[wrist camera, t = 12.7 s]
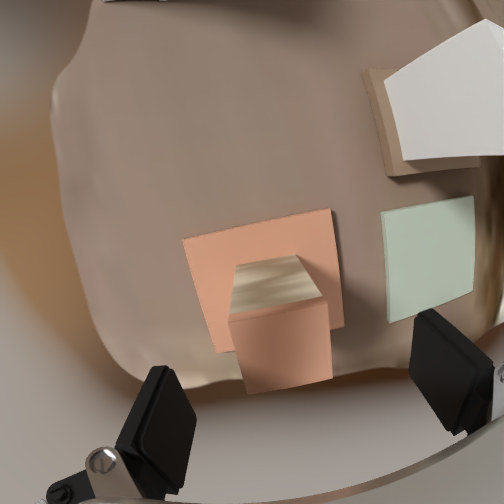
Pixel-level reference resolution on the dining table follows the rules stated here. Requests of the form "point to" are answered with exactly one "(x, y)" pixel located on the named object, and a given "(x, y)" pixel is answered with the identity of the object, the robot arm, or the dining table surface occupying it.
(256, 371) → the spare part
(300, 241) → the terracotta pad
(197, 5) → the dining table surface
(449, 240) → the sage pad
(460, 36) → the mounted unit
